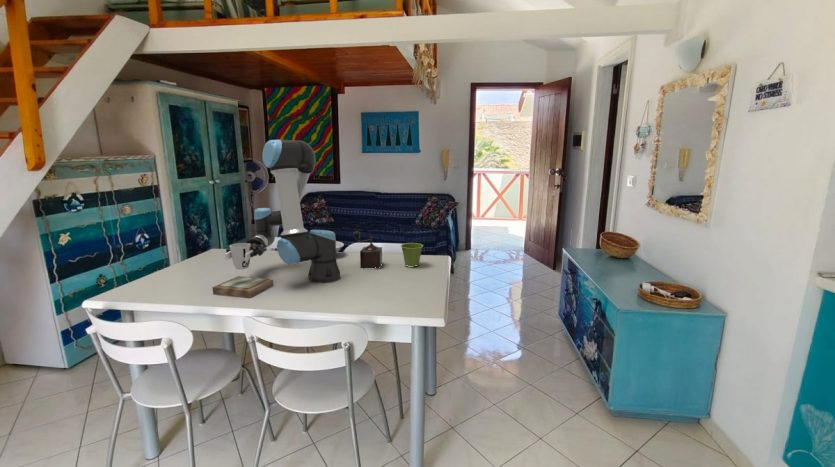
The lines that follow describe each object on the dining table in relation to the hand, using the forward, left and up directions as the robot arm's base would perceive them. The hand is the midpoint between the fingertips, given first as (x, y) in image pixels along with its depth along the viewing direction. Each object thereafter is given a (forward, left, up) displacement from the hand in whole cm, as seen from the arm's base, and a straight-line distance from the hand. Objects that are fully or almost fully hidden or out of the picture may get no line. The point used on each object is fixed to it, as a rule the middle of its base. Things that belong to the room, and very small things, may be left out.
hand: (236, 257), depth 164 cm
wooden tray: (+1, -5, -16) cm, 17 cm away
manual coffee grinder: (-37, -54, -16) cm, 67 cm away
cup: (+1, -5, -6) cm, 8 cm away
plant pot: (-60, -60, -16) cm, 86 cm away
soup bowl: (-5, -67, -16) cm, 69 cm away
